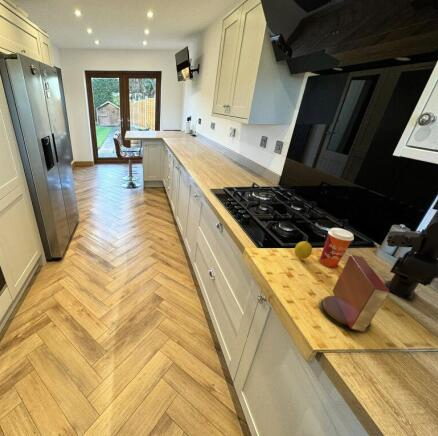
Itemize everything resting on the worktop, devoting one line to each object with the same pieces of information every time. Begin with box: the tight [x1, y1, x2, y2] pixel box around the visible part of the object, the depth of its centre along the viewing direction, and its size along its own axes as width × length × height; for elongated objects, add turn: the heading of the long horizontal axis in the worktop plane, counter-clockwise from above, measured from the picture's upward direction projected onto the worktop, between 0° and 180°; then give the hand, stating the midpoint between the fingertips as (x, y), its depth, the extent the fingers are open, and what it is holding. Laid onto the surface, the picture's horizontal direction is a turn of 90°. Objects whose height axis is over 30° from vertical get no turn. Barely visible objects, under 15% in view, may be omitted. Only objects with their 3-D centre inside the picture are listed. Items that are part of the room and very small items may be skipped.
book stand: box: [322, 254, 391, 333], centre depth 65 cm, size 11×15×15 cm
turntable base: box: [319, 299, 371, 333], centre depth 69 cm, size 12×12×1 cm
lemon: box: [294, 240, 313, 260], centre depth 92 cm, size 6×6×8 cm
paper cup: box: [319, 227, 355, 269], centre depth 89 cm, size 8×8×14 cm
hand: (409, 280), depth 65 cm, fingers closed
